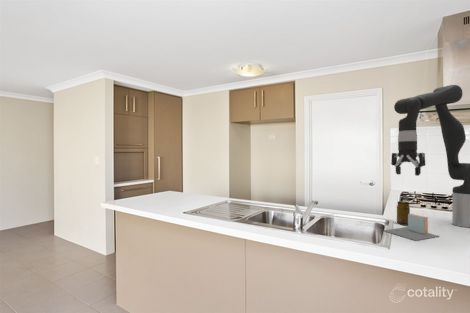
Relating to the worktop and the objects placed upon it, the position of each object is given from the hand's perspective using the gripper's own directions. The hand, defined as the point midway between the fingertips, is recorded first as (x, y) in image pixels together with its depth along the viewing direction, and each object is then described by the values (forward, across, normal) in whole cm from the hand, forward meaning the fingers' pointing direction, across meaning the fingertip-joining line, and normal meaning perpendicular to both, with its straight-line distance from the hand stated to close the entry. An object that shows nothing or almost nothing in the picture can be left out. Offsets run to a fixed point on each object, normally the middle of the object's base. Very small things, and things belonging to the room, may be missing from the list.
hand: (407, 174), depth 126 cm
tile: (+28, 0, -7) cm, 29 cm away
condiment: (+29, +13, -18) cm, 37 cm away
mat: (+28, 0, -2) cm, 28 cm away
